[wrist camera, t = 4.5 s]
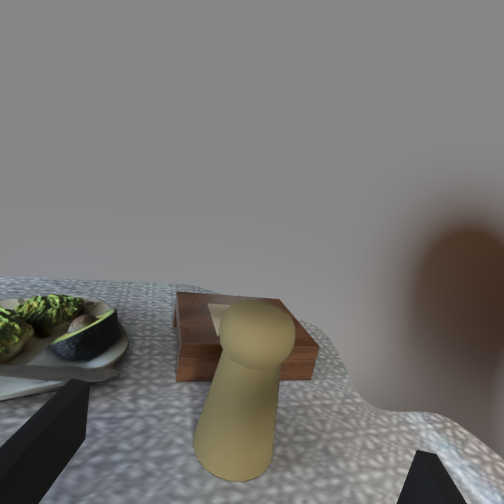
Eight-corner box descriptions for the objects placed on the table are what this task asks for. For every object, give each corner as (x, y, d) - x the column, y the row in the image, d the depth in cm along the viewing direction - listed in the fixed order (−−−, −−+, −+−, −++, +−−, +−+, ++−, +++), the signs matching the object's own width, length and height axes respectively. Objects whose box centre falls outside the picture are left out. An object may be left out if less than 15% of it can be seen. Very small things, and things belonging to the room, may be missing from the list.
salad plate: (-250, 491, 15) (-268, 411, 14) (-126, 322, 28) (-130, 275, 27) (147, 388, 27) (153, 340, 26) (102, 303, 40) (105, 269, 39)
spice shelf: (311, 380, 33) (320, 344, 32) (175, 382, 28) (181, 341, 27) (273, 325, 44) (279, 297, 43) (172, 320, 39) (176, 289, 39)
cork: (288, 445, 24) (322, 315, 21) (238, 501, 19) (275, 342, 16) (229, 401, 27) (253, 285, 25) (175, 440, 22) (198, 300, 20)
